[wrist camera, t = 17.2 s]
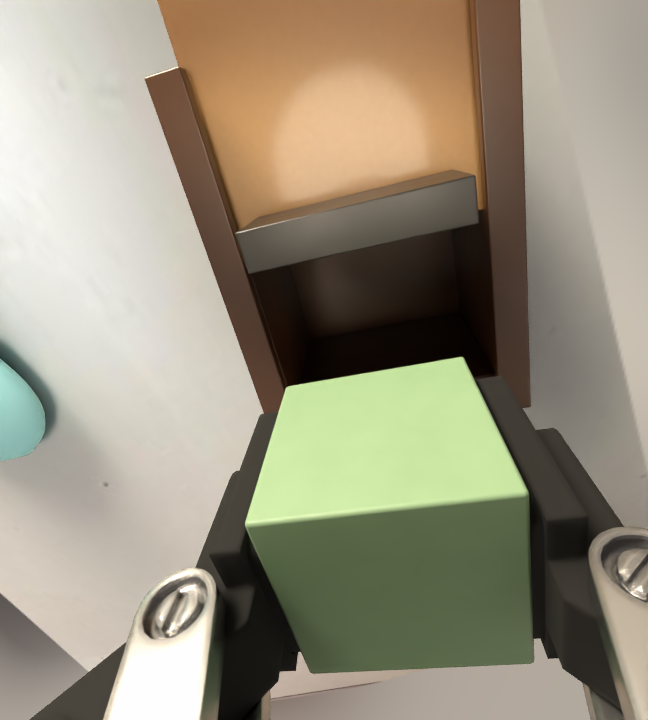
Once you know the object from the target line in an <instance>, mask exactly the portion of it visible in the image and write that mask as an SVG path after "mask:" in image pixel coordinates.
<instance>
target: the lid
mask: <svg viewBox="0 0 648 720" xmlns="http://www.w3.org/2000/svg"><path fill="white" fill-rule="evenodd" d="M157 1H158V4H159V7H160V10H161V13H162V16H163V19H164V22H165V25H166V29H167V32H168V35H169V38H170V41H171V44H172V47H173V50H174V53H175V56H176V59H177V63H178V66H179V67H181V68H184V69H185V70H186V72H187V75H188V79H189V82H190V85H191V88H192V91H193V94H194V97H195V101H196V104H197V107H198V110H199V113H200V116H201V119H202V123H203V126H204V129H205V132H206V135H207V138H208V141H209V145H210V148H211V151H212V154H213V157H214V160H215V163H216V166H217V170H218V173H219V176H220V179H221V182H222V185H223V188H224V192H225V195H226V198H227V201H228V204H229V207H230V210H231V214H232V217H233V220H234V223H235V226H236V229H237V232H236V237H237V240H238V243H239V246H240V249H241V252H242V256H243V259H244V262H245V265H246V268H247V271H248V273H249V274H253V273H257V272H262V271H266V270H271V269H275V268H280V267H284V266H289V265H293V264H298V263H302V262H307V261H311V260H316V259H320V258H325V257H329V256H334V255H339V254H343V253H348V252H352V251H357V250H361V249H366V248H370V247H375V246H379V245H384V244H388V243H393V242H397V241H402V240H406V239H411V238H415V237H420V236H424V235H429V234H433V233H438V232H442V231H447V230H451V229H456V228H460V227H465V226H469V225H474V224H478V223H479V215H478V211H479V210H484V207H483V192H482V177H481V163H480V148H479V133H478V119H477V104H476V89H475V75H474V60H473V45H472V30H471V16H470V1H469V0H157Z"/></svg>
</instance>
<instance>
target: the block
mask: <svg viewBox="0 0 648 720" xmlns="http://www.w3.org/2000/svg"><path fill="white" fill-rule="evenodd" d="M245 527H246V530H247V532H248V534H249V536H250V539H251V541H252V543H253V545H254V548H255V550H256V552H257V554H258V557H259V559H260V561H261V563H262V566H263V568H264V570H265V572H266V575H267V577H268V579H269V581H270V583H271V586H272V588H273V590H274V592H275V595H276V597H277V599H278V601H279V604H280V606H281V608H282V610H283V613H284V615H285V617H286V619H287V622H288V624H289V626H290V628H291V630H292V633H293V635H294V637H295V639H296V642H297V644H298V646H299V648H300V651H301V653H302V655H303V657H304V660H305V662H306V664H307V666H308V669H309V671H310V672H311V673H313V674H316V673H338V672H360V671H381V670H403V669H425V668H444V667H468V666H489V665H511V664H531V663H533V662H534V639H533V614H532V582H531V550H530V507H529V492H528V490H527V487H526V485H525V483H524V481H523V479H522V477H521V475H520V473H519V471H518V469H517V467H516V465H515V463H514V461H513V459H512V457H511V454H510V452H509V450H508V448H507V446H506V444H505V442H504V440H503V438H502V436H501V434H500V432H499V430H498V428H497V426H496V423H495V421H494V419H493V417H492V415H491V413H490V411H489V409H488V407H487V405H486V403H485V401H484V399H483V397H482V395H481V393H480V390H479V388H478V386H477V384H476V382H475V380H474V378H473V376H472V374H471V372H470V370H469V368H468V366H467V364H466V362H465V360H464V358H463V357H457V358H452V359H446V360H440V361H434V362H428V363H422V364H416V365H411V366H405V367H399V368H393V369H387V370H381V371H375V372H370V373H364V374H358V375H352V376H346V377H340V378H334V379H328V380H323V381H317V382H311V383H305V384H299V385H293V386H288V387H286V390H285V393H284V396H283V399H282V403H281V406H280V409H279V413H278V416H277V419H276V423H275V426H274V429H273V432H272V436H271V439H270V442H269V446H268V449H267V452H266V455H265V459H264V462H263V465H262V469H261V472H260V475H259V479H258V482H257V485H256V488H255V492H254V495H253V498H252V502H251V505H250V508H249V512H248V515H247V518H246V521H245Z"/></svg>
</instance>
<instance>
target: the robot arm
mask: <svg viewBox="0 0 648 720" xmlns="http://www.w3.org/2000/svg"><path fill="white" fill-rule="evenodd" d="M475 382H476V384H477V386H478V388H479V390H480V393H481V395H482V397H483V399H484V401H485V403H486V405H487V407H488V409H489V411H490V413H491V415H492V417H493V419H494V421H495V423H496V426H497V428H498V430H499V432H500V434H501V436H502V438H503V440H504V442H505V444H506V446H507V448H508V450H509V452H510V454H511V457H512V459H513V461H514V463H515V465H516V467H517V469H518V471H519V473H520V475H521V477H522V479H523V481H524V483H525V485H526V487H527V490H528V492H529V507H530V550H531V582H532V614H533V639H537V638H541V641H542V643H543V646H544V649H545V652H546V655H547V657H548V659H549V658H559V660H560V662H561V665H562V668H563V669H564V670H566V671H567V672H569V673H570V674H571V675H573V676H574V677H576V678H577V679H578V680H580V681H581V682H582V683H583V687H584V692H585V697H586V700H587V705H588V709H589V714H590V719H591V720H648V529H644V528H638V527H631V526H630V527H624V526H623V524H622V523H621V521H620V520H619V519H618V517H617V516H616V514H615V513H614V511H613V510H612V508H611V507H610V505H609V504H608V503H607V501H606V500H605V498H604V497H603V495H602V494H601V492H600V491H599V489H598V488H597V487H596V485H595V484H594V482H593V481H592V479H591V478H590V476H589V475H588V473H587V472H586V471H585V469H584V468H583V466H582V465H581V463H580V462H579V460H578V459H577V457H576V456H575V455H574V453H573V452H572V450H571V449H570V447H569V446H568V444H567V443H566V442H565V440H564V439H563V437H562V436H561V434H560V433H559V432H558V431H557V430H556V429H554V428H549V429H541V430H535V428H534V427H533V425H532V423H531V422H530V420H529V418H528V417H527V415H526V414H525V412H524V410H523V409H522V407H521V405H520V404H519V402H518V400H517V399H516V397H515V396H514V394H513V392H512V391H511V389H510V387H509V386H508V384H507V382H506V381H505V379H504V378H503V376H496V377H489V378H483V379H477V380H476V381H475ZM278 413H279V411H277V412H271V413H265V414H261V415H260V417H259V419H258V422H257V425H256V427H255V430H254V433H253V435H252V438H251V441H250V444H249V446H248V449H247V452H246V454H245V457H244V460H243V463H242V465H241V468H240V471H236V472H234V473H233V474H232V476H231V478H230V480H229V483H228V485H227V488H226V490H225V493H224V495H223V498H222V501H221V503H220V506H219V508H218V511H217V513H216V516H215V519H214V521H213V524H212V526H211V529H210V532H209V534H208V537H207V539H206V542H205V544H204V547H203V550H202V552H201V555H200V557H199V560H198V562H197V565H196V568H189V569H183V570H180V571H178V572H175V573H173V574H171V575H169V576H168V577H166V578H165V579H163V580H162V581H160V582H159V583H158V584H157V585H156V586H155V587H154V588H153V589H152V590H150V591H149V593H148V594H147V595H146V597H145V598H144V599H143V601H142V602H141V604H140V606H139V608H138V610H137V612H136V615H135V617H134V620H133V624H132V627H131V630H130V633H129V637H128V640H127V642H126V643H124V644H123V645H122V646H121V647H119V648H118V649H117V650H116V651H114V652H113V653H112V654H111V655H110V656H108V657H107V658H106V659H105V660H103V661H102V662H101V663H100V664H98V665H97V666H96V667H95V668H93V669H92V670H91V671H90V672H88V673H87V674H86V675H85V676H83V677H82V678H81V679H80V680H78V681H77V682H76V683H75V684H74V685H72V686H71V687H70V688H68V689H67V690H66V691H65V692H63V693H62V694H61V695H60V696H59V697H57V698H56V699H55V700H54V701H52V702H51V703H50V704H49V705H47V706H46V707H45V708H44V709H43V710H41V711H40V712H39V713H37V714H36V715H35V716H34V717H32V718H31V719H30V720H270V700H271V695H270V689H271V688H272V687H273V686H274V685H275V684H276V683H277V682H278V679H279V672H280V671H296V664H297V656H298V652H301V651H300V648H299V646H298V644H297V642H296V639H295V637H294V635H293V633H292V630H291V628H290V626H289V624H288V622H287V619H286V617H285V615H284V613H283V610H282V608H281V606H280V604H279V601H278V599H277V597H276V595H275V592H274V590H273V588H272V586H271V583H270V581H269V579H268V577H267V575H266V572H265V570H264V568H263V566H262V563H261V561H260V559H259V557H258V554H257V552H256V550H255V548H254V545H253V543H252V541H251V539H250V536H249V534H248V532H247V530H246V527H245V521H246V518H247V515H248V512H249V508H250V505H251V502H252V498H253V495H254V492H255V488H256V485H257V482H258V479H259V475H260V472H261V469H262V465H263V462H264V459H265V455H266V452H267V449H268V446H269V442H270V439H271V436H272V432H273V429H274V426H275V423H276V419H277V416H278Z"/></svg>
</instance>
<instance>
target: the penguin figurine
mask: <svg viewBox="0 0 648 720" xmlns="http://www.w3.org/2000/svg"><path fill="white" fill-rule="evenodd" d="M45 422H46V420H45V412H44V409H43V407H42V405H41V402H40V400H39V399H38V397H37V396H36V394H35V393H34V391H33V390H32V389H31V388H30V386H29V385H28V384H27V383H26V382H25V381H24V380H23V379H22V378H21V377H20V376H19V375H18V374H17V373H16V372H15V371H14V370H13V369H12V368H11V367H9V366H8V365H7V364H6V363H5V362H4V361H2V360H1V359H0V461H4V460H10V459H13V458H17V457H22V456H26V455H28V454H29V453H31V452H32V451H33V450H34V449H35V448H36V446H37V444H38V443H39V442H40V441H41V439H42V437H43V435H44V432H45Z"/></svg>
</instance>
